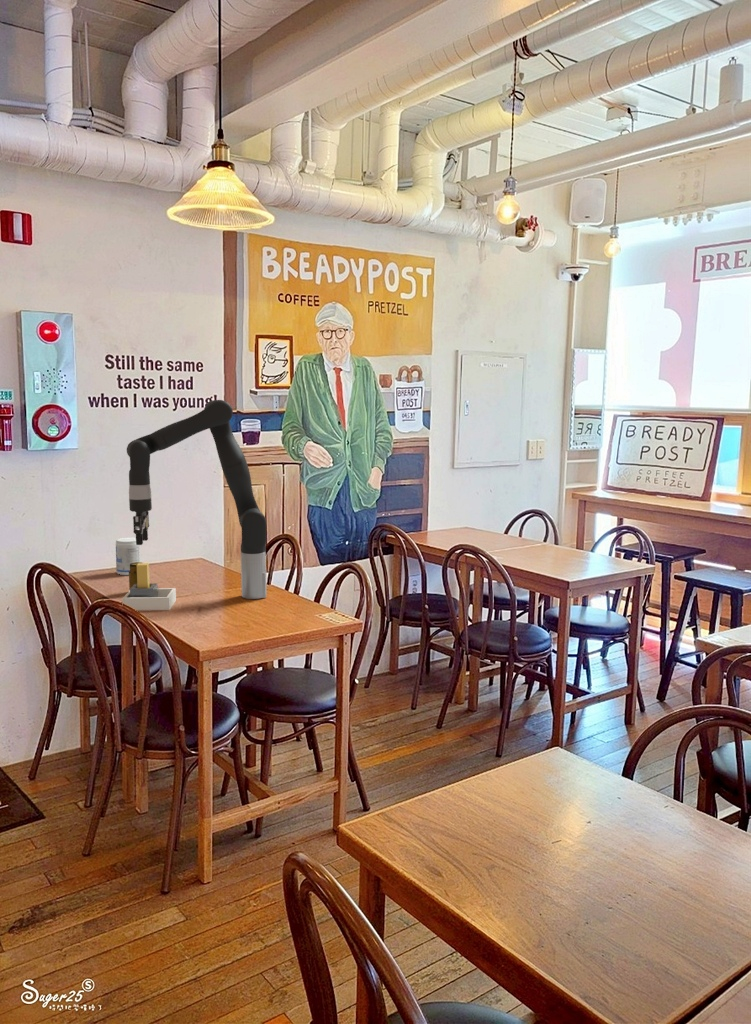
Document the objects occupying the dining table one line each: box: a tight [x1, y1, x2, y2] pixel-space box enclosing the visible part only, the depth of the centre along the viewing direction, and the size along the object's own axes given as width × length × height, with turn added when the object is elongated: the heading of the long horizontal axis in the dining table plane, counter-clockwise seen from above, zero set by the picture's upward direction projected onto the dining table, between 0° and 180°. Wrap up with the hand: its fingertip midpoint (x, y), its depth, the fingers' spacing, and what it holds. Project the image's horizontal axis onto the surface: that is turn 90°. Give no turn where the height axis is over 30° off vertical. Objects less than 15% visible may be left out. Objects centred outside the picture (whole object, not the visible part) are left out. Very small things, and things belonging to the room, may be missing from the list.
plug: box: [137, 562, 151, 588], centre depth 290 cm, size 4×4×12 cm
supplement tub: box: [115, 537, 141, 576], centre depth 343 cm, size 10×10×15 cm
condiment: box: [128, 561, 142, 592], centre depth 308 cm, size 7×8×12 cm
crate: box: [122, 587, 177, 611], centre depth 291 cm, size 16×14×5 cm
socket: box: [130, 582, 158, 597], centre depth 291 cm, size 8×8×7 cm
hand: (142, 542), depth 288 cm, fingers open, 8 cm apart
